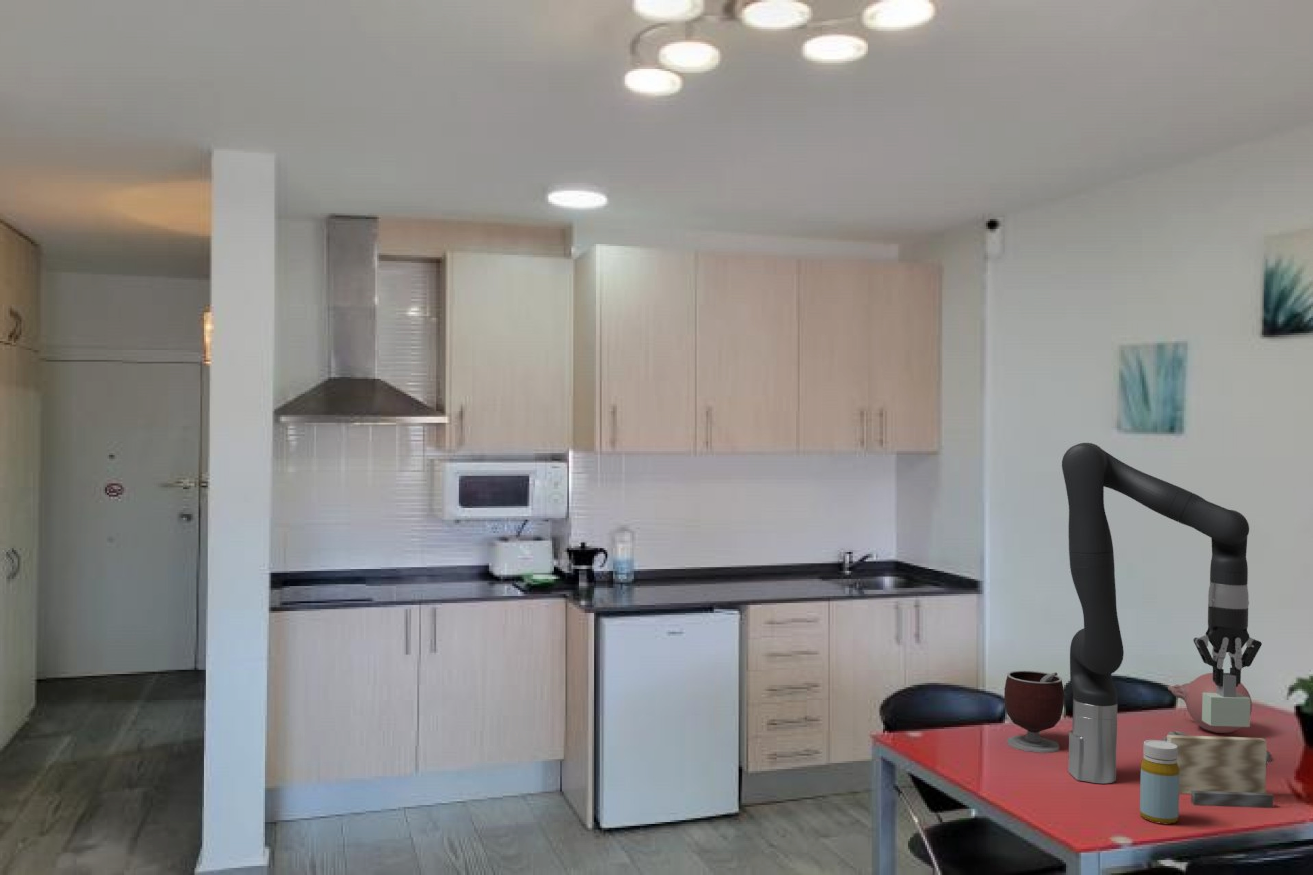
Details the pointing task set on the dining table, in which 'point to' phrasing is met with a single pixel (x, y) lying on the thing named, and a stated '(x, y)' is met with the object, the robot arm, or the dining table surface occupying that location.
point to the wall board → (1222, 770)
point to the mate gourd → (1034, 707)
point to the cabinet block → (1226, 705)
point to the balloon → (1194, 699)
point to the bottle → (1159, 782)
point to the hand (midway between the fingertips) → (1226, 685)
